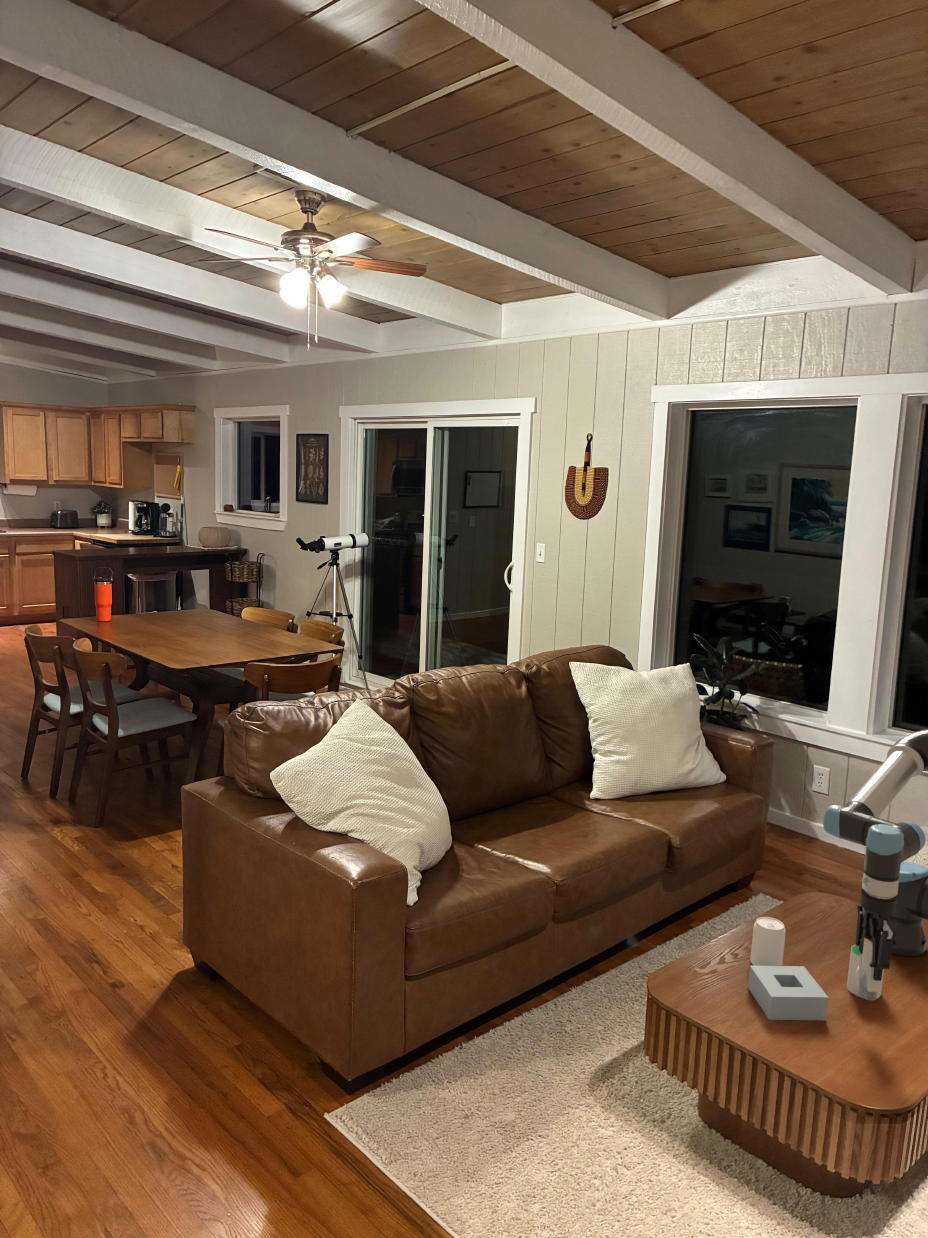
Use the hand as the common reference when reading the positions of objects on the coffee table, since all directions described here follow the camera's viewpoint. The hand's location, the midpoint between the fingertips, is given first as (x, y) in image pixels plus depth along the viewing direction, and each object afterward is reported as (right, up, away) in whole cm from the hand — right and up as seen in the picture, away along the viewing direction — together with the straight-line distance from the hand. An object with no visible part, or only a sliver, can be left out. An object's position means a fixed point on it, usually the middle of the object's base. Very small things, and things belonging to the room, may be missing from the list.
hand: (868, 985), depth 213 cm
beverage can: (-14, -7, +29) cm, 33 cm away
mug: (+6, -10, +18) cm, 21 cm away
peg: (0, -3, 0) cm, 3 cm away
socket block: (-15, -9, +11) cm, 21 cm away
